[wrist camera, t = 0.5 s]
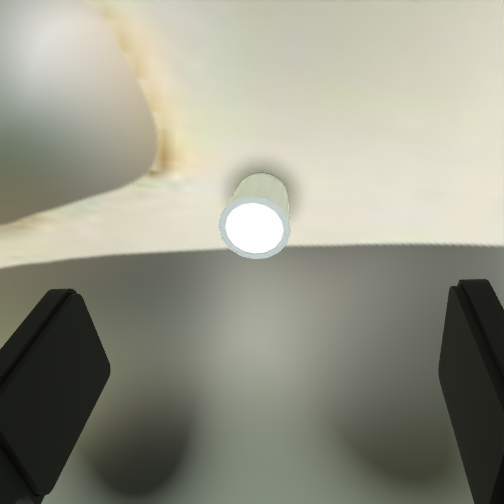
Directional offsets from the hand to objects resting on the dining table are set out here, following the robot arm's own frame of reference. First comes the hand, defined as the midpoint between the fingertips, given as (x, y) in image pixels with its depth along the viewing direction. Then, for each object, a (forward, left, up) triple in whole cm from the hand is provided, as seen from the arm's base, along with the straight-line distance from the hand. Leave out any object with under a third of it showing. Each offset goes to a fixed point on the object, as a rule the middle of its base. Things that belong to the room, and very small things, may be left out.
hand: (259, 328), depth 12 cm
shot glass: (+13, -4, -35) cm, 38 cm away
